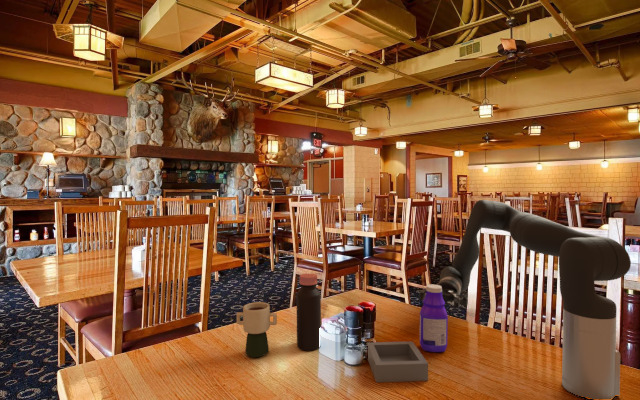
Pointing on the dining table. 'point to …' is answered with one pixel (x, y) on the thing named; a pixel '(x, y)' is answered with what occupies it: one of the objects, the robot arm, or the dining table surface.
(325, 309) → the dining table surface
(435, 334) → the bottle
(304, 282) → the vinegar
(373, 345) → the grey square tray
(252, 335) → the character mug
